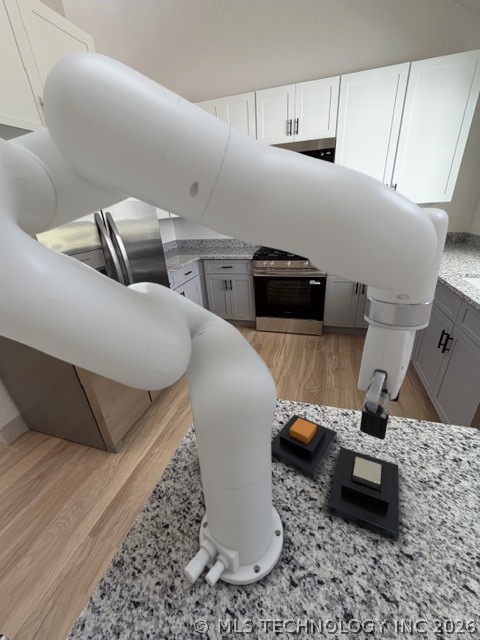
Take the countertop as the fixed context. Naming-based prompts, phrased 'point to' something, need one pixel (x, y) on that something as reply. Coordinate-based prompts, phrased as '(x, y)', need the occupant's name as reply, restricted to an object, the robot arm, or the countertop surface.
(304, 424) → the amber key
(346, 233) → the robot arm
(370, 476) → the white key
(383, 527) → the front keypad
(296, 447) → the rear keypad
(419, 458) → the countertop surface
